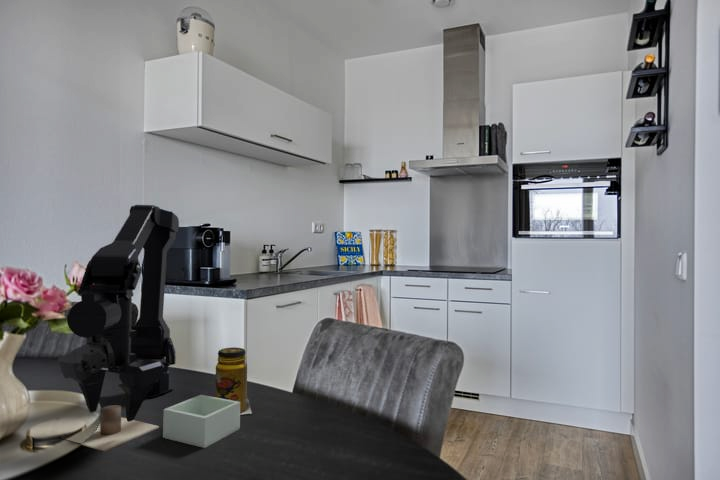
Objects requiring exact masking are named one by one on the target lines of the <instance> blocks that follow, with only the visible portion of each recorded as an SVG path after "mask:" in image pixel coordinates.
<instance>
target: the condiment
mask: <svg viewBox="0 0 720 480" xmlns="http://www.w3.org/2000/svg"><path fill="white" fill-rule="evenodd" d="M217 356H218V357H217V364H216V366H215V383H214V385H215V386H214V388H215V389H214V390H215V393H214V397H216V398H222V399H227V400H232V401H238V402H240V416H241V415H242V416H243V415H249V414H250V415H252V414H253V411H252V409H251V404H250V400H249V399H248V363H247V362H246V359H247V358H246V350H245V349H244V348H242V347H235V346H234V347H226V348H221V349H219V350H218V351H217Z"/></svg>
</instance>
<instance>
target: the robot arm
mask: <svg viewBox="0 0 720 480" xmlns="http://www.w3.org/2000/svg"><path fill="white" fill-rule="evenodd" d="M179 221H180V220H179V217H178V216H177V215H176V213H174V212H173V211H169V210H165V209H162V208H160V207H159V206H156V205H154V204H151V205H150V204H135V205H132V206H130V208H129V215H128V217H127V218H126V220H125V221H124V223H123V225H122V226H121V228H120V230H119V232H118V233H117V235H116V236H115V238H114V240H113V241H112V242H111V243H109V244H107V245H104V246H102V247H100V248H99V249H98V250H97V251H96V252H95V254H93V256H91V258H90V260H89V261H88V262H87V266H86V268H85V271H84V274H83V276H82V279H81V282H80V285H79V288H78V291H77V294H78V295H79V296H81V300H80V301H79V302H76V303H75V304H74V305H72V307H71V308H70V309H69V312H68V313H67V315H66V317H67V318H66V321H67V326H68V328H69V330H70V331H71V333H73V334H74V335H75V336H78V337H80V338H84V339H85V338H86V342H85V343H84V344H83V345H81V346H77V347H76V348H75V349H72V350H71V351H68V352H67V353H66V354H64V355H62V356H60V358H58V359H57V362H58V364H59V367H60V371H61V373H62V376H63V378H64V379H72V380H73V381H74V382H76V383H77V384H78V385H79V387H80V390H81V393H82V396H83V398H84V401H85V404H86V406H87V410H88V412H89V413H95V412H97V410H98V407H99V403H100V399H101V394H102V389H103V387H104V380H105V378H106V372H109V373H114V374H119V375H118V376H119V380H120V382H121V383H120V384H118V387H119V388H120V389H121V390H122V391H123V392H124V396H125V398H124V399H125V400H124V401H125V402H124V403H125V415H126V417H125V418H127V421H128V422H130V421H132V420H135V418H136V416H137V414H138V412H139V410H140V408H141V406H142V403H144V400H145V398H147V399H152V398H154V397H158V396H161V395H163V394H166V393H169V392H172V391H173V390H174V387H171V386H170V371H169V367H170V366H172V365H175V364H176V362H177V361H176V359H177V356H176V348H175V346H174V342H173V340H172V338H171V337H170V336H171V330H170V328H169V326H168V324H167V322H166V320H165V319H164V304H165V290H166V289H165V287H166V275H167V273H166V272H167V258H168V257H167V255H168V251H169V249H171V247H172V246H173V244H174V243H175V241H176V237H177V233H178V231H179V229H180V225H179V224H180V222H179ZM142 250H143V263H142V267H141V264H140V261H139V256H140V253H141V252H142ZM141 275H142V278H141V292H140V305H139V306H140V307H139V318H138V319H137V321H136V322H135V323H134V325H132V305H133V303H132V300H133V298H132V297H134V291H135V290H136V288H137V285H138V282H139V281H140V277H141Z"/></svg>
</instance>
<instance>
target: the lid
mask: <svg viewBox="0 0 720 480" xmlns="http://www.w3.org/2000/svg"><path fill="white" fill-rule="evenodd" d="M99 412H100V413H99V414H100V415H99V417H100V420H99V422H100V424H99V426H98V428H97V430H96V431H95V432H94V433H93V434H92V435H91V436H90V437H89V438H88V439H86V440H85V441H84V442H82V443H81V444H80V445H82V446H84V447H88V448H91V449H95V450H99V451H100V452H101V451H102V452H105V451H108V450H110V449H113V448H114V447H118V446H119V445H121V444H124V443H127V442H129V441H131V440H133V439H136V438H139V437H141V436H143V435H145V434H148V433H151V432H152V431H155V430H157V429H159V428H160V426H159V425H156V424H151V423H147V422H144V421H138V420H135V419H134V420H132V421H130V422H128V421H127V417H122V406H121V405H118V404H117V405H116V404H114V405H107V406H104V407H101V408H100V411H99Z"/></svg>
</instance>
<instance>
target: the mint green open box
mask: <svg viewBox="0 0 720 480" xmlns="http://www.w3.org/2000/svg"><path fill="white" fill-rule="evenodd" d="M162 418H163V419H162V420H163V421H162V438H164V439H168V440H171V441H175V442H180V443H183V444H186V445H190V446H191V445H192V446H196V447H200V448H203V449H204V448H207V447H209V446H211V445H212V444H215V443H216V442H218V441H220V440H222V439H224V438H226V437H227V436H229V435H231V434H232V433H235V432H237V431H238V430H240V428H241V415H240V402H238V401H232V400H227V399H222V398H216V397H215V396H209V395H207V394H206V395H205V394H199V395H197V396H194V397H192V398H189V399H186V400H184V401H181V402H179V403H177V404H174V405H171V406H168V407H166V408H164V409H163V417H162Z"/></svg>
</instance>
